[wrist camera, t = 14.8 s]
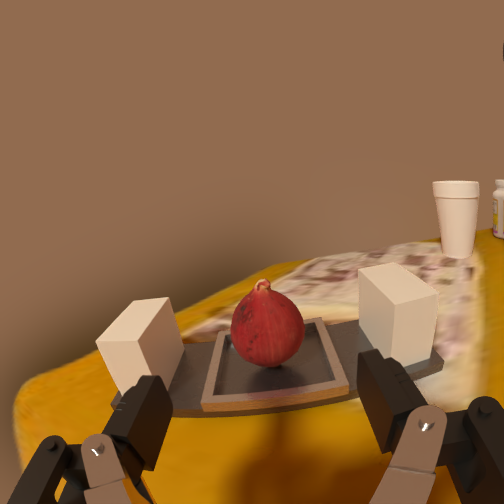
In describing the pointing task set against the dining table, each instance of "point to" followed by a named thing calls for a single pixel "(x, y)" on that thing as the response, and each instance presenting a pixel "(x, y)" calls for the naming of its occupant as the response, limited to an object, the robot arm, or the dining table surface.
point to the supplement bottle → (498, 210)
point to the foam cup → (457, 216)
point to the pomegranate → (266, 327)
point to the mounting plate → (275, 374)
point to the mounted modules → (370, 320)
